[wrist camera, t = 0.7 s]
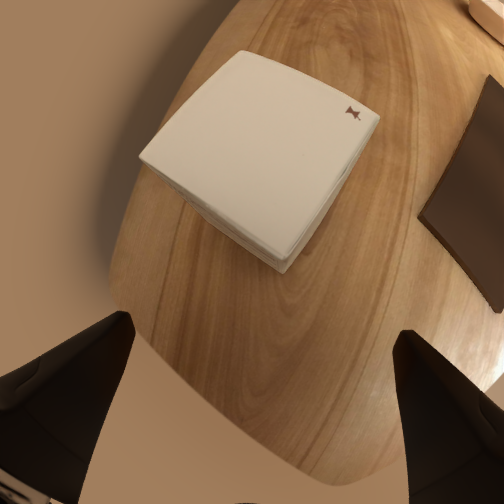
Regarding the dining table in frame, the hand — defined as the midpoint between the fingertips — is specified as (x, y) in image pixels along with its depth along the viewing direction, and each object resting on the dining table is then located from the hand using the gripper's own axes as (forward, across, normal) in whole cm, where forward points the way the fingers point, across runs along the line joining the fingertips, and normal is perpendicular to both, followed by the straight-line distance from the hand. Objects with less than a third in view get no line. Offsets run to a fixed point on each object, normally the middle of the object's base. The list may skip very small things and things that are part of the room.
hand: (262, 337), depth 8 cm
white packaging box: (+15, 0, +1) cm, 15 cm away
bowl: (+43, -49, -40) cm, 76 cm away
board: (+20, -28, -6) cm, 35 cm away
